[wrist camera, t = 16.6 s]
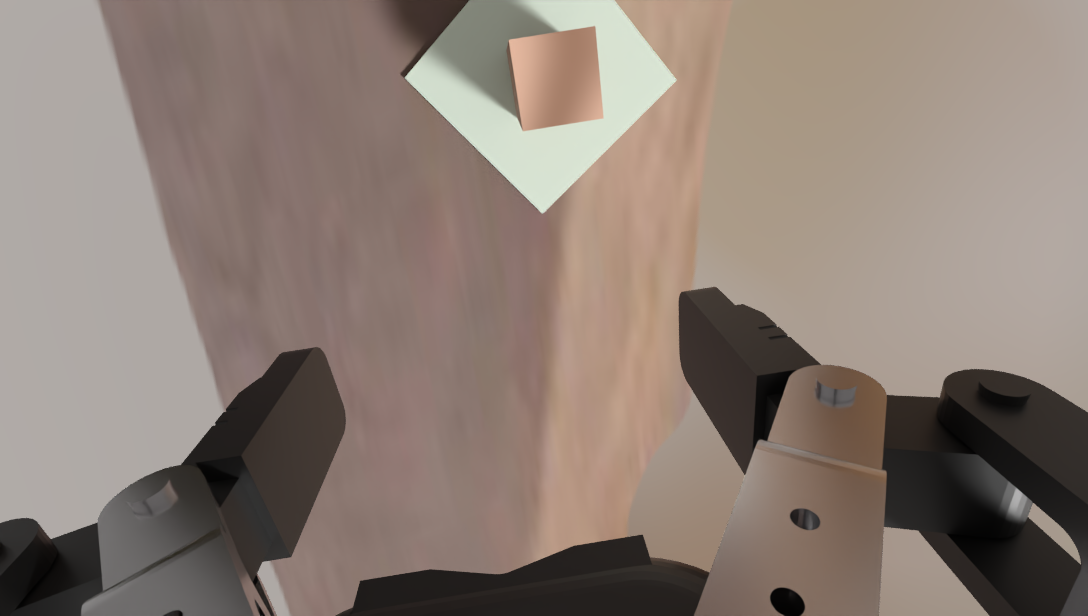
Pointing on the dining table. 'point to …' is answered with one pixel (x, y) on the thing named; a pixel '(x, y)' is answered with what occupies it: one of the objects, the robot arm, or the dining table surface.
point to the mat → (487, 96)
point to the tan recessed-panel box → (555, 78)
